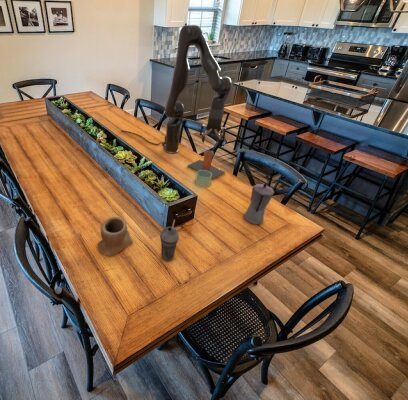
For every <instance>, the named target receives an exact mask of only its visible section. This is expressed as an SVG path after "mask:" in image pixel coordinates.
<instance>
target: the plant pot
mask: <svg viewBox="0 0 408 400" xmlns="http://www.w3.org/2000/svg"><path fill="white" fill-rule="evenodd" d="M214 154H215V152H214V151H213V150H210V149H207V150H204V151H203V160H202V161H203V166H202V169H203V170H207V171H208V170H210V168H211V165H212V162H213V157H214Z"/></svg>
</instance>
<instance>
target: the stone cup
mask: <svg viewBox="0 0 408 400" xmlns="http://www.w3.org/2000/svg"><path fill="white" fill-rule="evenodd" d="M100 237H101V239H100V240H99V241H98V242H97V244H96V246H97V250H98V251H99V252H100V253H101V254H102V256H106V257H111V256H115V255H116V254H118V253H120V252H121V251H123V250H124V249H126V248H127V247H129V246H130V245H132V244H133V238H132V237H131V236H130V232H129V230H128V225H127V222H126V221H125V219H124V218H122V217H120V216H111V217H108V218H107V219H105V220H104V221H103V222H102V224H101V226H100Z"/></svg>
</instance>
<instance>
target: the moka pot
mask: <svg viewBox="0 0 408 400" xmlns="http://www.w3.org/2000/svg"><path fill="white" fill-rule="evenodd" d="M274 194H275V191H274V189H273V188H272V187H270V186H268V184H266V183H262V184H261V183H256V184H254V185H253V186H252V190H251V196H250V204H249V206H248V207H247V209H246V211H245V213H244V217H243V218H244V219H245V220H246V221H247V223H250V224H252V225H260V224H262V223H263V221H264V217H265V211H266V208H267V206H268V205H269V203H270V201H271V200H272V198H273V195H274Z"/></svg>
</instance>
